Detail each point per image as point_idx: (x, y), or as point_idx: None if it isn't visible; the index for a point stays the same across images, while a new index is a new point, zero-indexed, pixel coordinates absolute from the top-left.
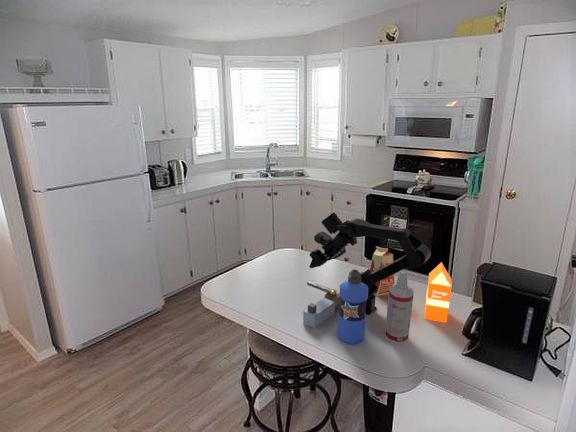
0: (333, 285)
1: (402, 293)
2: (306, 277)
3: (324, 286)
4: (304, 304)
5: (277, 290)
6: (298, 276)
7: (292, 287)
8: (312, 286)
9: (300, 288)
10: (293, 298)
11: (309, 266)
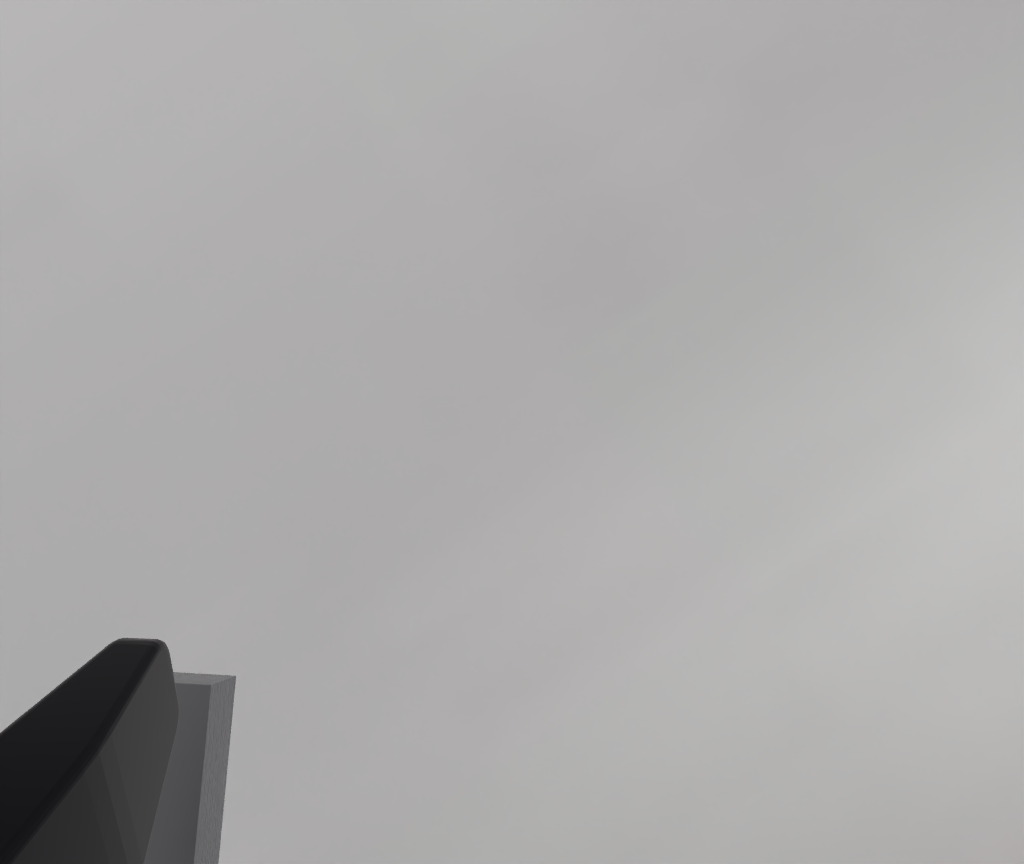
0: (1004, 762)
1: None
2: (922, 168)
3: None
4: None
5: (201, 60)
6: (855, 34)
7: (444, 193)
8: None
9: (501, 325)
10: (130, 436)
11: (112, 655)
